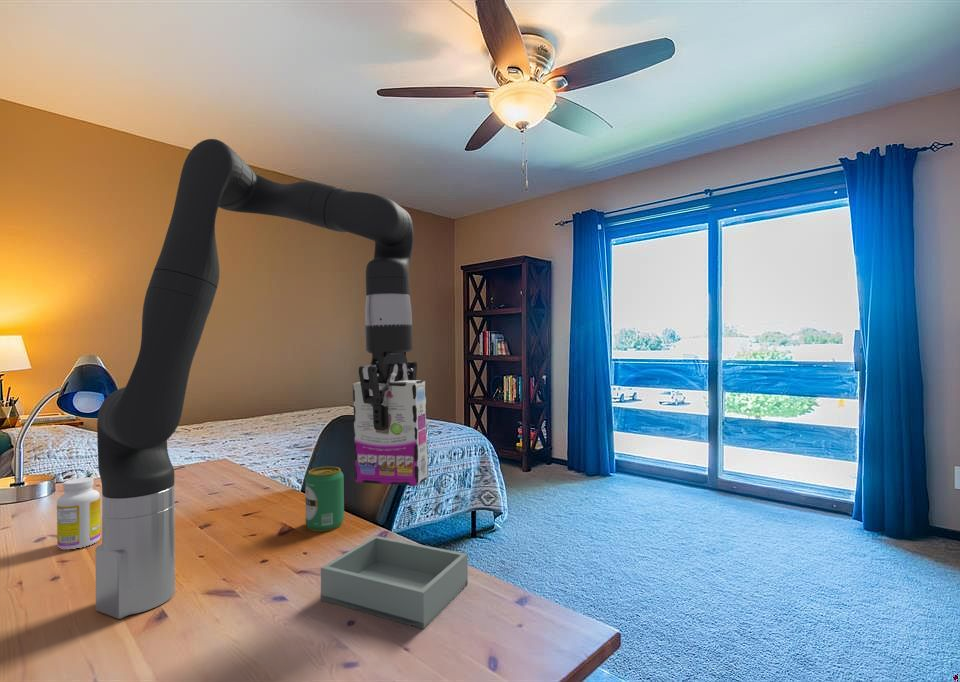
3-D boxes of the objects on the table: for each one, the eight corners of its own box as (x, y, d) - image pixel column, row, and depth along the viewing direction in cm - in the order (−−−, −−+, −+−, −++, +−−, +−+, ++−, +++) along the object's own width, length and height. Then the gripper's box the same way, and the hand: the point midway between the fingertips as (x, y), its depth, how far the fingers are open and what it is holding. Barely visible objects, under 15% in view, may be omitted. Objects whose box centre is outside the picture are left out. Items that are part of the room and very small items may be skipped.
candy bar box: (429, 477, 81) (427, 379, 80) (418, 487, 76) (415, 382, 76) (368, 474, 83) (366, 379, 83) (353, 483, 79) (351, 382, 78)
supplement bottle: (95, 535, 102) (95, 474, 102) (104, 543, 97) (104, 479, 97) (53, 545, 96) (53, 481, 96) (61, 554, 92) (60, 487, 92)
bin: (423, 628, 67) (423, 592, 67) (320, 599, 75) (320, 567, 75) (467, 584, 79) (467, 553, 79) (375, 563, 87) (375, 535, 87)
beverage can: (299, 525, 106) (298, 470, 106) (332, 516, 112) (332, 464, 112) (316, 535, 100) (316, 477, 101) (350, 525, 106) (350, 470, 106)
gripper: (383, 321, 71) (386, 436, 71) (430, 323, 84) (432, 420, 85) (341, 323, 74) (344, 433, 74) (393, 324, 87) (395, 418, 88)
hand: (391, 425), depth 79 cm, fingers closed on candy bar box, 5 cm apart
